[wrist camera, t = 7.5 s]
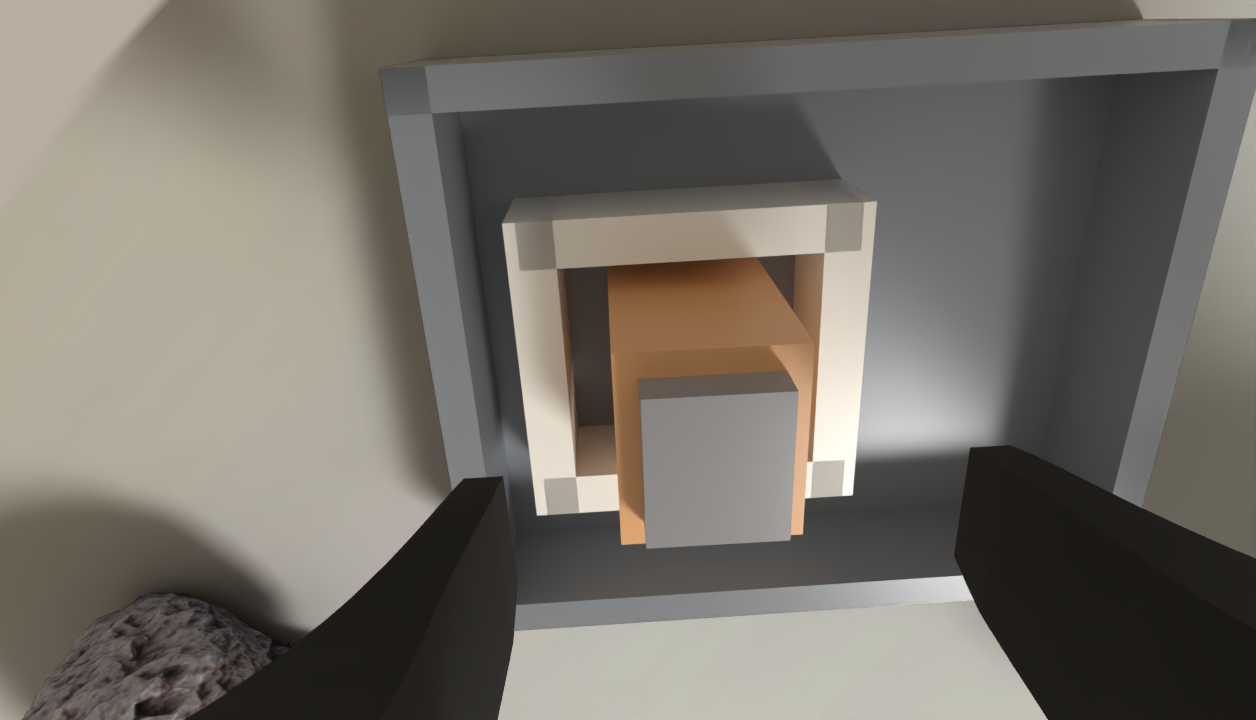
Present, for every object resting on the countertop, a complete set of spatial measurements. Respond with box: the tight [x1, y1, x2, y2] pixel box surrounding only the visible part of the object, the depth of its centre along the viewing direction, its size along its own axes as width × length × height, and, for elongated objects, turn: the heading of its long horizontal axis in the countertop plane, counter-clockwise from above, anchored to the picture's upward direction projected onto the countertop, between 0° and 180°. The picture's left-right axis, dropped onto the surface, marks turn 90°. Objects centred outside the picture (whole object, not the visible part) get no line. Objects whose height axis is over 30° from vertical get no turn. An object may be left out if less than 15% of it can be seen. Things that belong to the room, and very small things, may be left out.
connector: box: [607, 257, 815, 549], centre depth 16 cm, size 4×4×6 cm
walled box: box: [379, 18, 1256, 631], centre depth 18 cm, size 16×13×4 cm
